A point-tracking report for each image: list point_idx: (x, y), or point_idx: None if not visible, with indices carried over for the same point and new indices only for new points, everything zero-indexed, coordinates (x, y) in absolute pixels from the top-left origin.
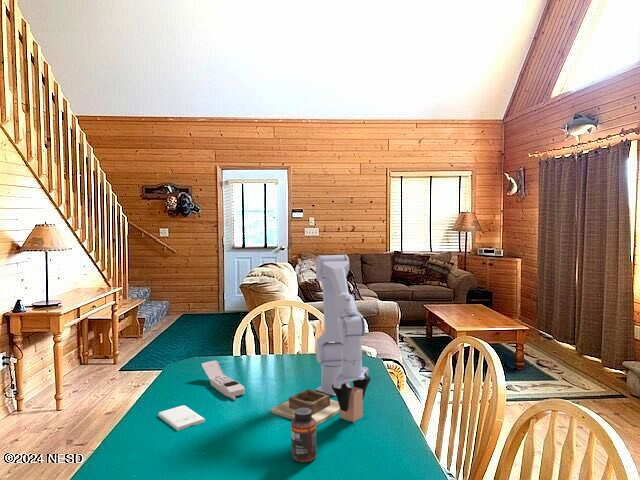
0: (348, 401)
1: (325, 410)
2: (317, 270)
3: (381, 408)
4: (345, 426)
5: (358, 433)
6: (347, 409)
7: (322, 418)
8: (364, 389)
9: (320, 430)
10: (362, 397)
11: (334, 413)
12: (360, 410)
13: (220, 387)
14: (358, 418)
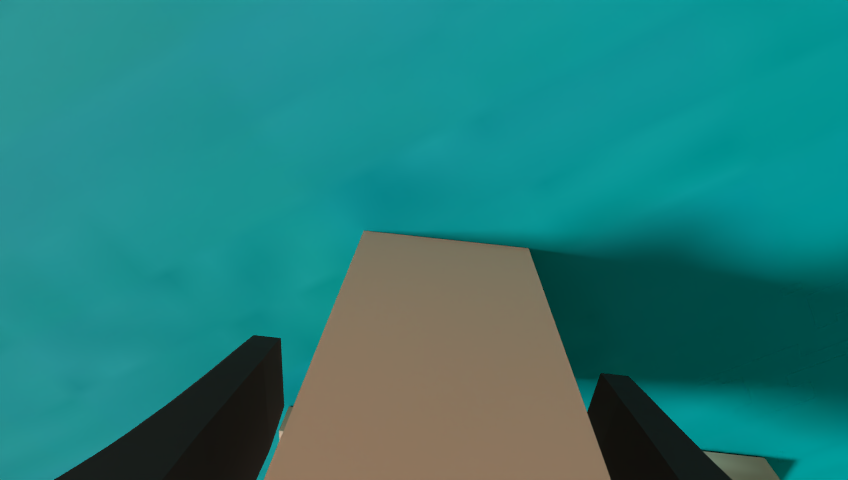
0: (688, 475)
1: None
2: None
3: (60, 151)
4: (654, 272)
5: (779, 85)
6: (621, 385)
7: None
8: (151, 474)
9: (804, 401)
10: (316, 374)
11: None
12: (400, 275)
13: None
14: (443, 243)
